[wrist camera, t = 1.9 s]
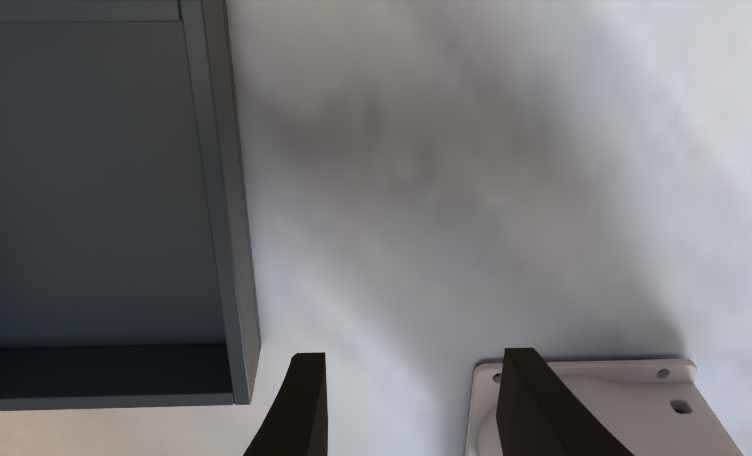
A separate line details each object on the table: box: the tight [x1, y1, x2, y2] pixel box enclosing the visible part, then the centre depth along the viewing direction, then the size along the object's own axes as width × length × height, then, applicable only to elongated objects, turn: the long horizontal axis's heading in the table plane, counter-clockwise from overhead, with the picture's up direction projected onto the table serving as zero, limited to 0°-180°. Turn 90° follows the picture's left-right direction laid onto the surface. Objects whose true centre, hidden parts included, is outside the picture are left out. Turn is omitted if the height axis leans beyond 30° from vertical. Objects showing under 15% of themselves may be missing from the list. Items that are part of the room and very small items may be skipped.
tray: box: [0, 0, 261, 411], centre depth 20 cm, size 11×14×3 cm
